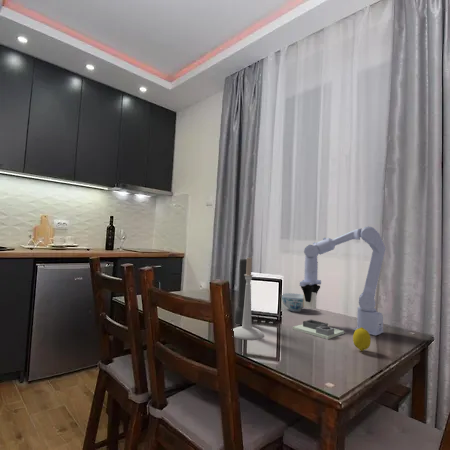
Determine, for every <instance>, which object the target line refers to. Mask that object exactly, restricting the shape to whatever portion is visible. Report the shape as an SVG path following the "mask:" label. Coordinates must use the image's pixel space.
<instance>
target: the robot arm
mask: <svg viewBox="0 0 450 450" xmlns="http://www.w3.org/2000/svg"><path fill="white" fill-rule="evenodd" d="M361 239H362V240H363V242H365V243H367V244H368V246H369V247H370V248H371V250H372V253H371V258H370V261H369V265H368V270H367V274H366V278H365V282H364V287H363V290H362V293H361V294H360V295H359V297H358V305H359V306H358V307H357V322H356V323H357V324H356V325H357V326H356V328H353V329H352V330H353V331H355V330H357V329H359V328H361V327H362V328H364V329H365V330H367V331H368V333H369V334H370V336H371V335H372V336H378V335H381V334H383V333H384V316H383V313H382V312H380V311H379V312H378V311H377V308H375V307H376V298H375V296H376V291H377V287H378V286H377V285H378V282H379V278H380V274H381V270H382V265H383V262H384V261H383V260H384V256H385V252H386V246H385V244H384V241H383V238H382V237H381V234H380V232H378V230H376V229H375V228H374V227H373V226H369V225H367V226H364V227H363V228H356V229H353V230H351V231H349V232H346V233H344V234H342V235H339V236H337V237H335V238H330V237H327V238H326V237H323V238H322V239H321V240H320V241H317V242H315V241H314V242H312V244H307V245H306V246H305V247H304V249H303V253H304V255H305V256H304V275H303V276H304V277H303V279H302V281H299V286H300V289H301V290H302V293H303V295H304V296H305V301H306V302H310V301H311V294H312V292H314V293H316V296H317V295H318V292H319V291H320V289H321V285H322V280H321V279H318V266H319V262H318V255H323V254H325V253H328V252H331V251H333V250H335V247H336V246H338V245H340V244H345V243H346V242H349V241H352V240H357V241H358V240H359V241H360V240H361Z"/></svg>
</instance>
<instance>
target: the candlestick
mask: <svg viewBox="0 0 450 450" xmlns="http://www.w3.org/2000/svg"><path fill="white" fill-rule="evenodd" d="M246 259H247V265H246V275H245V279H246V289H245V300H244V312H243V323H242V326H237V327H234V328H232V329H233V331H234V337H233V338H236V339H239V340H246V341H247V340H249V341H252V340H253V341H254V340H260V339H262V338H263V337H264V333H263V332H262V331H261V330H260V329H259V328H256V327H253V324H252V284H251V282H252V279H253V277H254V274H252V268H253V267H252V264H253V257H246Z"/></svg>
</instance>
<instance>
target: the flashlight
mask: <svg viewBox="0 0 450 450" xmlns="http://www.w3.org/2000/svg"><path fill="white" fill-rule="evenodd" d="M246 265H247V258H240V259H239V274H238V275H239V278H238V299H237V307H236V308H235V312H234V324H235V323H236V324H240V325H242V323H243V312H244V300H245V289H246V279H245V275H246ZM236 324H235V325H236ZM240 325H239V326H240Z"/></svg>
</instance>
